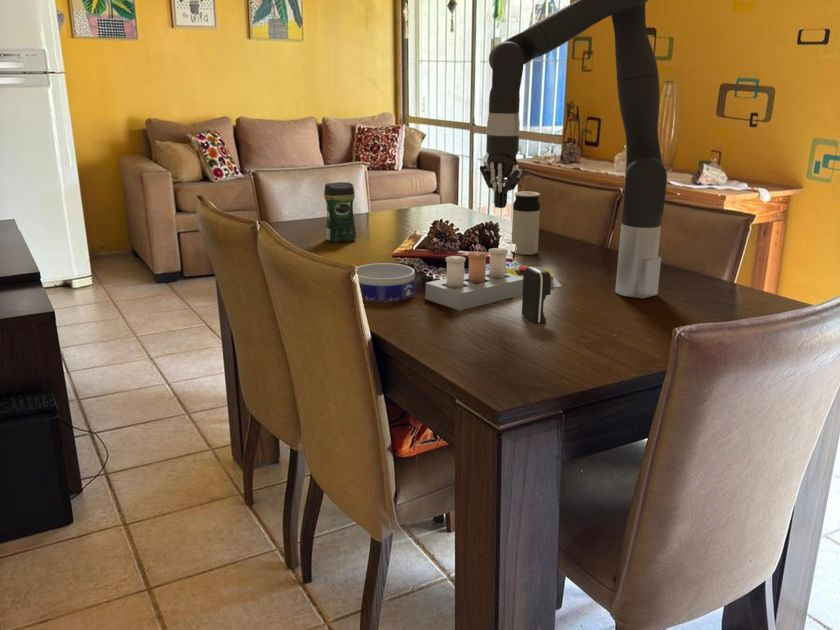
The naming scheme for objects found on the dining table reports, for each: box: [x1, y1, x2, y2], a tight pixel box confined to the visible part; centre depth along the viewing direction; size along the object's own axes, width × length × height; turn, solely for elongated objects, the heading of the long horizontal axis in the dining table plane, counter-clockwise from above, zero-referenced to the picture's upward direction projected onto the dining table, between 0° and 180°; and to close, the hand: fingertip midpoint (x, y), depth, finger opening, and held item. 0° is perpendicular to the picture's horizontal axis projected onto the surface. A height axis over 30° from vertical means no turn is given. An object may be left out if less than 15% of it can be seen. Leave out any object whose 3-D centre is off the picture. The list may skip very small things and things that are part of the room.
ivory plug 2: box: [488, 247, 509, 280], centre depth 186 cm, size 5×5×7 cm
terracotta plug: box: [467, 251, 488, 284], centre depth 182 cm, size 5×5×7 cm
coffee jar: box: [323, 181, 357, 243], centre depth 243 cm, size 10×8×19 cm
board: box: [424, 269, 523, 311], centre depth 183 cm, size 12×22×4 cm, turn 130°
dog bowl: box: [356, 262, 416, 303], centre depth 185 cm, size 15×15×6 cm
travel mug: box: [511, 190, 541, 256], centre depth 228 cm, size 8×8×18 cm
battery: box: [521, 266, 552, 324], centre depth 166 cm, size 7×4×11 cm, turn 21°
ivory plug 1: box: [445, 255, 467, 289], centre depth 178 cm, size 5×5×7 cm
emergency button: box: [506, 266, 562, 288], centre depth 197 cm, size 9×4×15 cm
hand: (500, 207), depth 182 cm, fingers closed
